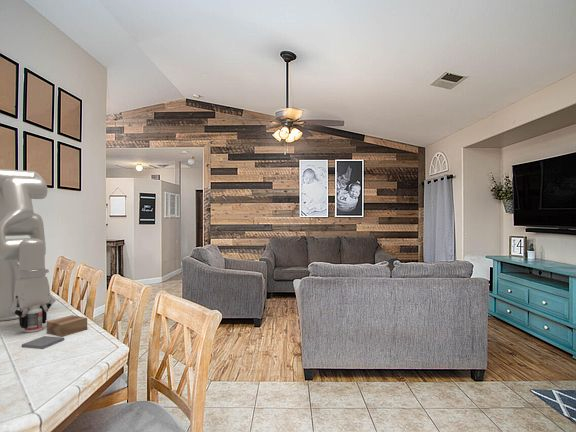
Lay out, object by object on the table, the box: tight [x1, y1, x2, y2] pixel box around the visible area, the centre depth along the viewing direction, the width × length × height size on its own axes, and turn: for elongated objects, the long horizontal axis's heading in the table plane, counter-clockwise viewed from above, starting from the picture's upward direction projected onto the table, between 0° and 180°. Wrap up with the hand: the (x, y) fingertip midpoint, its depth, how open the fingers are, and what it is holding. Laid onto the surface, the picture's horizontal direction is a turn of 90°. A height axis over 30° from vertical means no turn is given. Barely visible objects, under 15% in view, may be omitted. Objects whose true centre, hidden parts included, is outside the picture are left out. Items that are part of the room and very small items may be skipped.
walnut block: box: [46, 314, 88, 337], centre depth 130 cm, size 9×9×4 cm
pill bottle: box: [23, 305, 43, 333], centre depth 131 cm, size 5×5×10 cm
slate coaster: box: [21, 335, 65, 350], centre depth 117 cm, size 8×8×1 cm
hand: (33, 324), depth 131 cm, fingers closed on pill bottle, 5 cm apart
